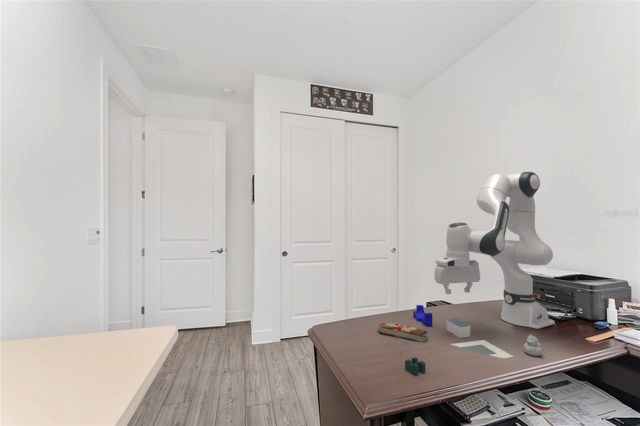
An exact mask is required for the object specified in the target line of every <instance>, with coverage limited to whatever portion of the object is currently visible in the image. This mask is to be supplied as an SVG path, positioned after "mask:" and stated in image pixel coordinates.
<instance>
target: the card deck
mask: <svg viewBox="0 0 640 426" xmlns="http://www.w3.org/2000/svg"><path fill="white" fill-rule="evenodd" d="M446 331H447V332H449V333H451V334H452V335H454V336H456V337H458V338H460V339H461V338H471V325H469V324H467V323H466V322H464V321H462V320H460V319H458V318H449V319H448V318H447V319H446Z"/></svg>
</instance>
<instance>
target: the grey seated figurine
mask: <svg viewBox="0 0 640 426" xmlns="http://www.w3.org/2000/svg"><path fill="white" fill-rule="evenodd" d="M523 349H524V352H525V353H526V354H527V355H529V354H530V355H529V356H532V357H533V356H534V357H538V356H542V355H543V348H542V344H541V343H540V342H539V340H538V338H537V336H535V335H533V333H530V334H529V335H528V336H527V339H526V342H525V343H524V344H523Z"/></svg>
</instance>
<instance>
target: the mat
mask: <svg viewBox="0 0 640 426" xmlns="http://www.w3.org/2000/svg"><path fill="white" fill-rule="evenodd" d="M449 345H451V346H453V347H454V346H455V347H457V348H460V349H461V348H462V349H464V350H465V349H466V350H469V351H472V352H476V353H479V354H484V355H487V356H491V357H492V356H493V357H495V358H500V359H507V358H514V355H511V354H510V353H508V352H506V351H504V350H503V349H501V348H499V347H498V346H496V345H494V344H492V343H490V342H489V341H487V340H485V339H482V340H481V339H480V340H472V341H471V340H470V341H465V342H463V341H462V342H458V343H449Z"/></svg>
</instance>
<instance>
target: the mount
mask: <svg viewBox="0 0 640 426" xmlns="http://www.w3.org/2000/svg"><path fill="white" fill-rule="evenodd" d="M404 369H405V370H406V371H408V372H409V373H411V374H413V375H414V376H415V377H416V376H419V375H420V373H421V374H425V373H426V362H425V361H424V360H420V361H419V360H418V357H416V356H414V357H412V358H411V359H409V358H408V359H406V360H404Z"/></svg>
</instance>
